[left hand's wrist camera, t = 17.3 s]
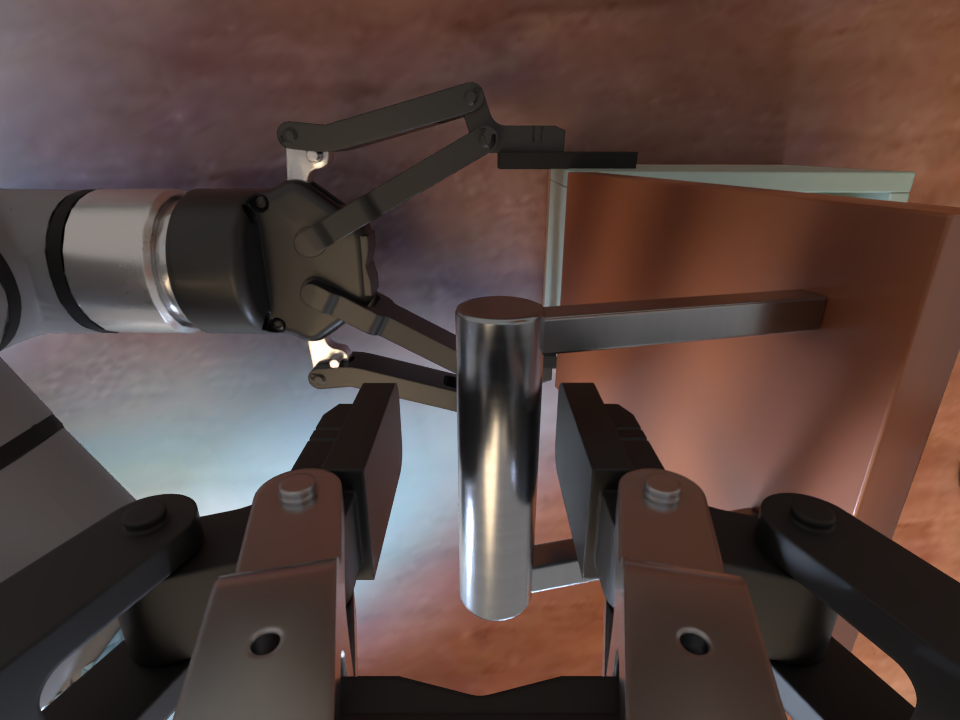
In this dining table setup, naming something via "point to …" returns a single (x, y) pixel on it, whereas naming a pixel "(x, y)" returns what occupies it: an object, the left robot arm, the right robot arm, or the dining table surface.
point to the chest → (745, 175)
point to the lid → (712, 359)
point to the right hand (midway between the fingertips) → (619, 262)
